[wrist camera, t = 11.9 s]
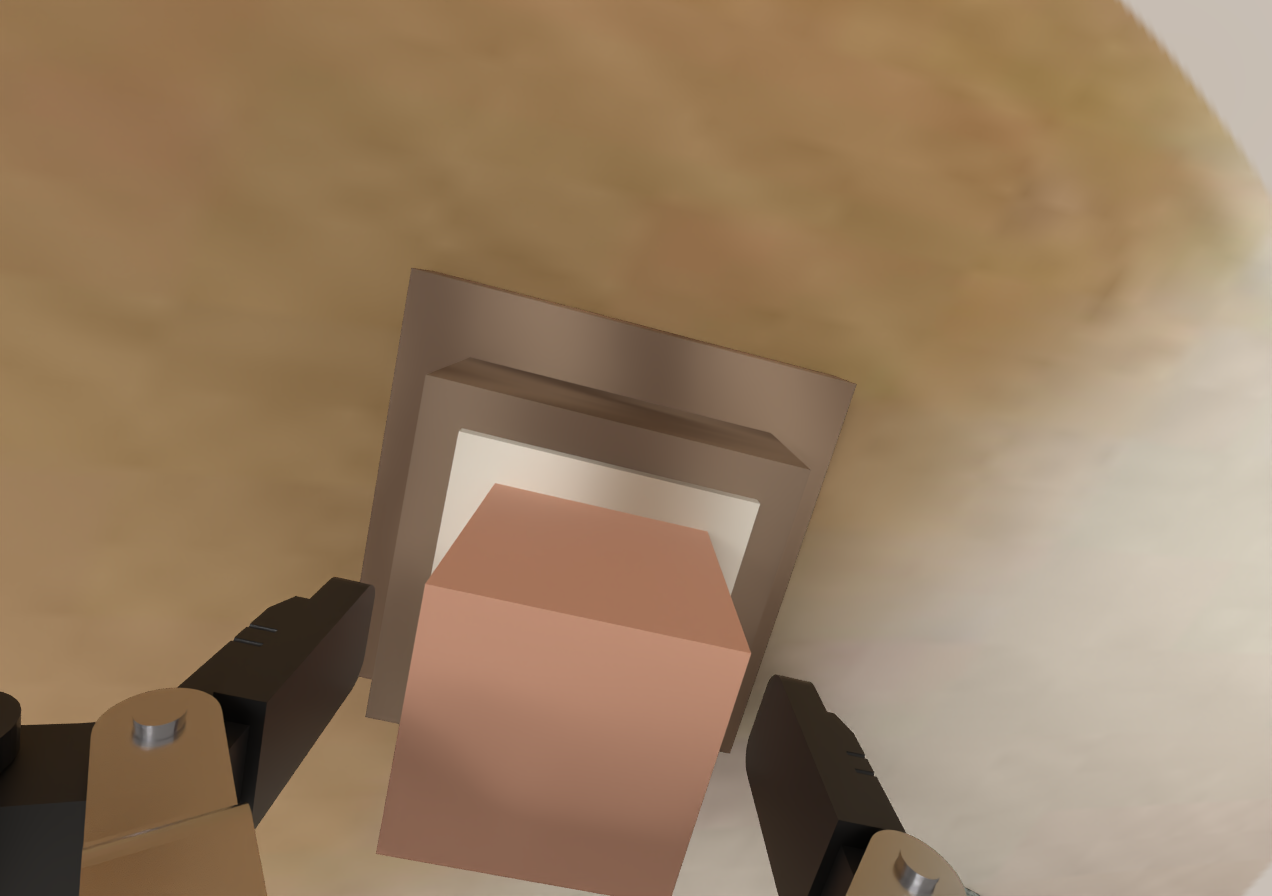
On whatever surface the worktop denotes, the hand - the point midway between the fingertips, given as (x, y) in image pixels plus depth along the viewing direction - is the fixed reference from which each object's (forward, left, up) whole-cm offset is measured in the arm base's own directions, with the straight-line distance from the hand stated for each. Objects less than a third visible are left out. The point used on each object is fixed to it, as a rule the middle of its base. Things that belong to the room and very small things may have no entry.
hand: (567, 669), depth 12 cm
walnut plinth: (0, 0, -9) cm, 9 cm away
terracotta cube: (0, 0, -3) cm, 3 cm away
